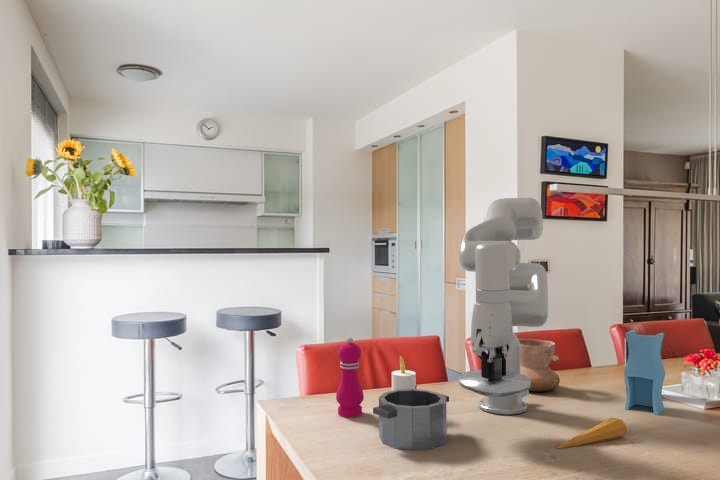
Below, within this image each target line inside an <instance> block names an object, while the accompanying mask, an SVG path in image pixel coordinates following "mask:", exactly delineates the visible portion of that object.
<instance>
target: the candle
mask: <svg viewBox="0 0 720 480" xmlns="http://www.w3.org/2000/svg"><path fill="white" fill-rule="evenodd" d="M399 369H400V370H394V371H391V391H394V390H403V389H417V388H418V387H417V386H418V384H416V383H417V381H416V380H417V379H416V377H417V376H416V374H417V373H416V372H415V371H413V370H407V369H406V367H405V360H404V358H403V357H402V355H399Z"/></svg>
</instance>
